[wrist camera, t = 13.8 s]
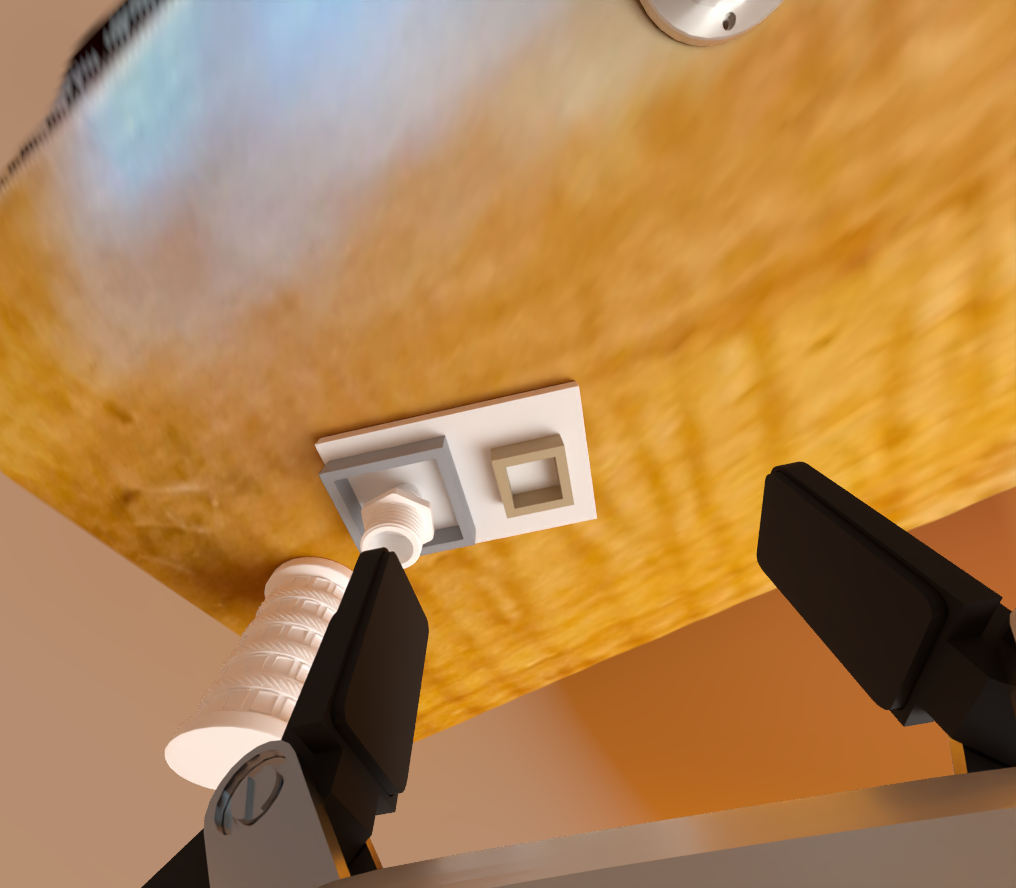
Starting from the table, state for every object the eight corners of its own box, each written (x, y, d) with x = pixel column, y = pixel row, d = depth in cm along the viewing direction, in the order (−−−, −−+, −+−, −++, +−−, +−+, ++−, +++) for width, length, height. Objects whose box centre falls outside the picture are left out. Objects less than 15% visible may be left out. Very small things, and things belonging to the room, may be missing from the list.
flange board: (320, 438, 39) (303, 457, 35) (575, 380, 37) (584, 395, 34) (378, 554, 46) (369, 580, 42) (593, 510, 45) (602, 533, 41)
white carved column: (316, 634, 52) (241, 807, 36) (248, 582, 47) (126, 756, 31) (385, 599, 50) (337, 768, 34) (320, 542, 45) (229, 706, 29)
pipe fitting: (452, 502, 41) (445, 555, 34) (397, 530, 43) (380, 586, 36) (417, 458, 39) (402, 505, 32) (360, 489, 40) (333, 541, 33)
